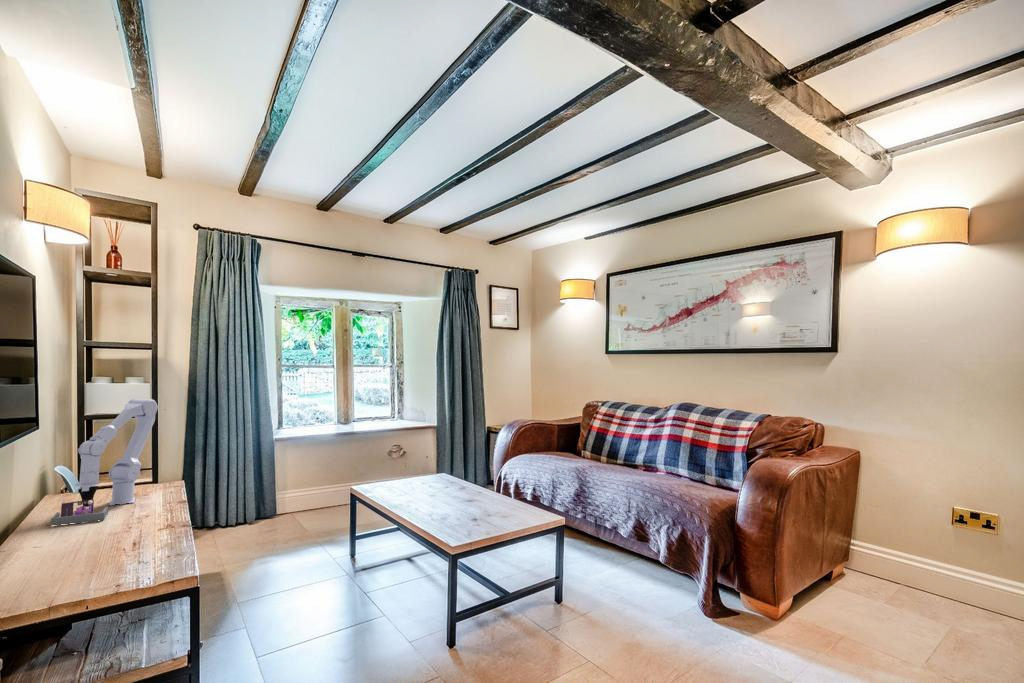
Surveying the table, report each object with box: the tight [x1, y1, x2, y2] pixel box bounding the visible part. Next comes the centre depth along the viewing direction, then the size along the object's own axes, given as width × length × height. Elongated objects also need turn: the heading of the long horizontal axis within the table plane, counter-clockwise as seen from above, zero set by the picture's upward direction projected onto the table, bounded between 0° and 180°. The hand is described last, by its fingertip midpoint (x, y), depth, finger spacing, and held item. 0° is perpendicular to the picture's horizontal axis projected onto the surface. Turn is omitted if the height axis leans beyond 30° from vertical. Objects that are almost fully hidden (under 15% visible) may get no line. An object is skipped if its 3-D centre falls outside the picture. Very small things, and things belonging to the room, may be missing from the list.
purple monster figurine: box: [60, 498, 95, 517], centre depth 179 cm, size 7×5×9 cm
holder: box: [49, 506, 109, 527], centre depth 176 cm, size 9×15×3 cm, turn 124°
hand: (86, 506), depth 187 cm, fingers closed
